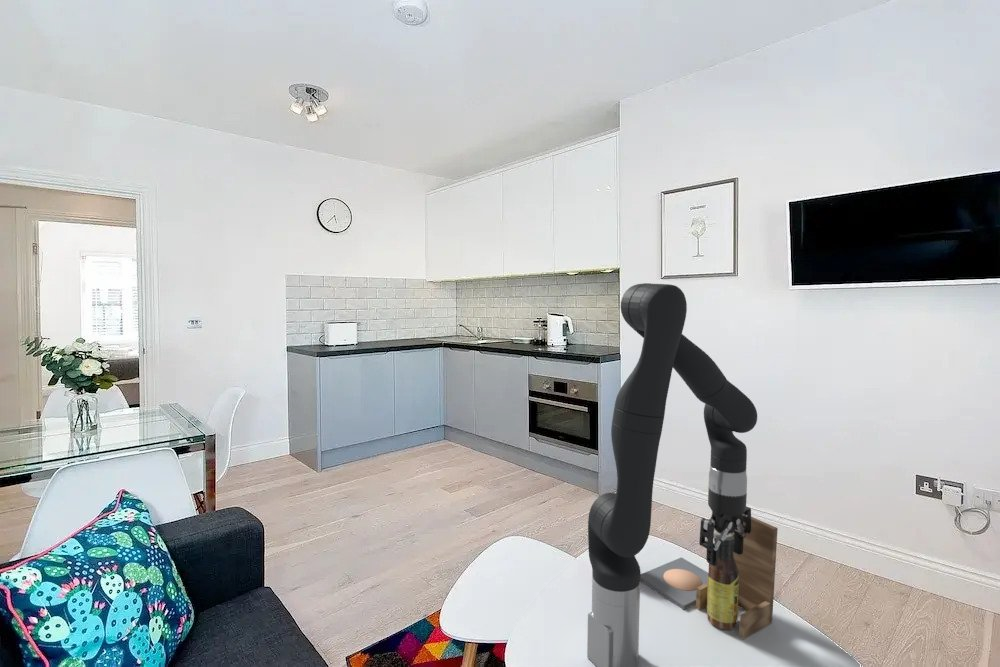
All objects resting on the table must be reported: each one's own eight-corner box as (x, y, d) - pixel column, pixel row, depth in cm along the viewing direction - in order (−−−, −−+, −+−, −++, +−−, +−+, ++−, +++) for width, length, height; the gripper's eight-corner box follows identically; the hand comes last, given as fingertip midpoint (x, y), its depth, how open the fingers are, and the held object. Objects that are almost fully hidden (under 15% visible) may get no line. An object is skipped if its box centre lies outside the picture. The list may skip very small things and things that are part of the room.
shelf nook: (743, 639, 107) (748, 540, 104) (695, 607, 117) (699, 517, 115) (772, 622, 112) (777, 528, 110) (723, 593, 122) (728, 506, 120)
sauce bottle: (740, 633, 109) (744, 545, 107) (709, 629, 110) (713, 542, 108) (732, 613, 115) (736, 530, 113) (703, 610, 116) (707, 527, 114)
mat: (683, 609, 117) (683, 605, 116) (638, 578, 129) (638, 574, 128) (727, 587, 125) (727, 583, 124) (681, 560, 137) (681, 556, 136)
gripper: (721, 501, 102) (719, 577, 104) (764, 486, 109) (761, 556, 111) (690, 488, 109) (688, 560, 111) (732, 474, 116) (730, 541, 118)
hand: (725, 558), depth 111 cm, fingers open, 8 cm apart
